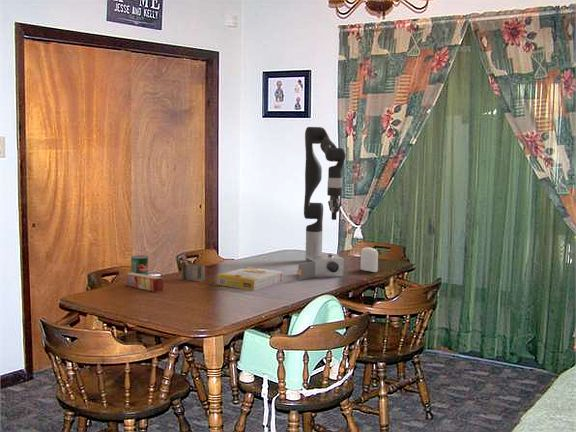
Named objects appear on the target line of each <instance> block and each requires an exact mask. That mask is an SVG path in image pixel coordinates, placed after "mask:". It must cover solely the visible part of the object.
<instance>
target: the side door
mask: <svg viewBox="0 0 576 432" xmlns="http://www.w3.org/2000/svg"><path fill="white" fill-rule="evenodd" d="M296 271H297V273H296V275H297V278H298V281H301V280H307V279H311V278H312V279H313V278H316V277H315V261H313V262H307V263H306V262H302V263H298V268H297V270H296Z"/></svg>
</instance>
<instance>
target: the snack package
mask: <svg viewBox="0 0 576 432" xmlns="http://www.w3.org/2000/svg"><path fill="white" fill-rule="evenodd" d="M124 285H125V286H126V287H132V288H135V289H139V290H144V291H148V292H153V293H158V292H162V291H163V290H164V287H165V283H164V279H163V277H161V276H157V275H149V274H148V275H144V274H138V273H133V272H128V273H126V274H125V276H124Z"/></svg>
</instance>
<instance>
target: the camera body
mask: <svg viewBox="0 0 576 432" xmlns="http://www.w3.org/2000/svg"><path fill="white" fill-rule="evenodd" d="M344 260H345V258H344V257H341V256H339V255H337V254H334V253H328V254H322V255H311V256H306V261H305V263H307V262H313V261H315V277H314V278H329V277H330V278H331V277H344V267H345V266H344V262H345V261H344Z"/></svg>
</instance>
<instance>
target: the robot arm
mask: <svg viewBox="0 0 576 432" xmlns="http://www.w3.org/2000/svg"><path fill="white" fill-rule="evenodd" d="M304 142H305V143H304V146H305V167H304V169H305V170H304V182H305V183H304V186H305V187H304V191H305V192H304V203H303V216H304V217H303V218H305V220H316V221H315V222H313V223H311V224H308V225H306V227H305V254H304V255H305V262H306V256H311V255H323V221H324V203H322V202H311V198H312V197H313V194H314V192H315V191H316V189H317V188H318V186H319V184H320V183H321V181H322V177H323V176H322V175H323V170H322V169H323V168H322V167H323V166H322V165H321V163H320V161H319V159H318V158H317V156H316V155H315V152H314V148H313V147H314V144H315V145H316V144H317V145H319V144H320V150H321V151H322V152H323V153H324V157H325V159H326V161H328V162H336V164H335V165H332V166H328V171H327V172H328V175H327V176H328V177H327V196H329V200H328V201H327V204H328V207H329V211H330V212H331V220H332V221H336V220H337V213H338V212H339V211H340V208H341V204H342V203H341V202H340V197H341V196H343V179H342V178H343V167H344V163H345V162H346V157H347V153H346V150H345V149H344V148H342V147H337V146H336V144H335V143H334V142H333V141H332V140H331V138H330V136H329V134H328V132H327V131H326V129H325V128H324V127H323V126H322V127H321V126H320V127H319V126H307V127H306V128H305V133H304Z"/></svg>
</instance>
